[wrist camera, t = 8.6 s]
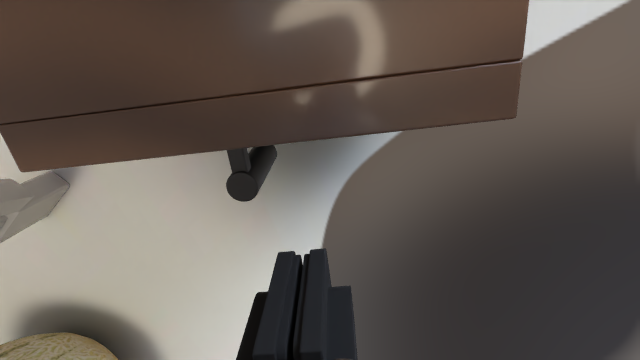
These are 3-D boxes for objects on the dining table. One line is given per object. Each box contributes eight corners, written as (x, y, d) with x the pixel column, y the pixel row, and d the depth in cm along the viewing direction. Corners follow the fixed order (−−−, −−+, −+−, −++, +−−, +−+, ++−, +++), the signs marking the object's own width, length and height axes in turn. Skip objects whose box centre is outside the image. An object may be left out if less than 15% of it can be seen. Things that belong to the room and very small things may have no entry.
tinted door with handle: (174, 103, 21) (66, 139, 12) (298, 87, 20) (273, 115, 12) (190, 157, 22) (103, 223, 14) (307, 145, 21) (290, 206, 13)
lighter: (46, 217, 26) (-69, 284, 18) (26, 203, 25) (-100, 266, 18) (89, 159, 24) (-21, 209, 16) (68, 143, 23) (-54, 187, 16)
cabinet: (118, -52, 19) (-166, -186, 8) (424, -104, 17) (570, -352, 7) (168, 114, 22) (19, 173, 12) (423, 83, 21) (517, 118, 10)
